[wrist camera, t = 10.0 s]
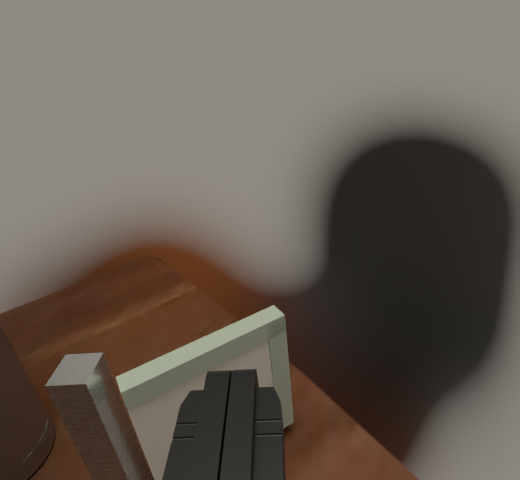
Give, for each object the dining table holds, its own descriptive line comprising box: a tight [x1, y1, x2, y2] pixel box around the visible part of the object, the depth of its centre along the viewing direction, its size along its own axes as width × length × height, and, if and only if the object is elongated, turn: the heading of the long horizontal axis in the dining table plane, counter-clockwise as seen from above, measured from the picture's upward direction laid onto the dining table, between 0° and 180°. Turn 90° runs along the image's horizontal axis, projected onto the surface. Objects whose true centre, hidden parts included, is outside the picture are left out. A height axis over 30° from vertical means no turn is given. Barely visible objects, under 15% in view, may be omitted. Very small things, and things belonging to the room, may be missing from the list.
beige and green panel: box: [116, 305, 294, 480], centre depth 30 cm, size 13×2×13 cm, turn 121°
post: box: [45, 353, 153, 480], centre depth 27 cm, size 3×3×16 cm
